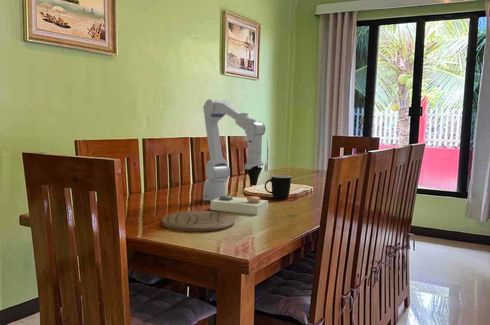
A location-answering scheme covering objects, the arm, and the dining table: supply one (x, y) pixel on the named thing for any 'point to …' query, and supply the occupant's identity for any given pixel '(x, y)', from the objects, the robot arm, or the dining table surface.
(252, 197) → the button
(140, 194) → the dining table surface
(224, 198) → the button
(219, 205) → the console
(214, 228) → the trivet
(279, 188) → the mug
